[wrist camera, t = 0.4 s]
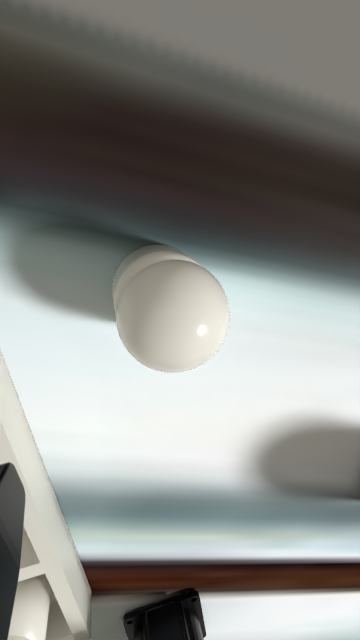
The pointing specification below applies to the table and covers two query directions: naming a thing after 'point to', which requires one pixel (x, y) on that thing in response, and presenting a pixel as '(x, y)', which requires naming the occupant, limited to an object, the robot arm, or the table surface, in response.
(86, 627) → the carton
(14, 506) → the robot arm
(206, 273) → the egg
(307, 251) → the table surface
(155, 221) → the table surface
